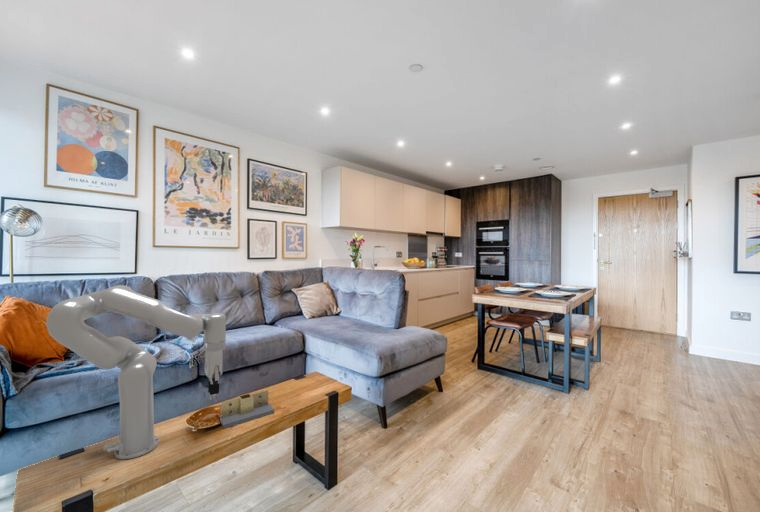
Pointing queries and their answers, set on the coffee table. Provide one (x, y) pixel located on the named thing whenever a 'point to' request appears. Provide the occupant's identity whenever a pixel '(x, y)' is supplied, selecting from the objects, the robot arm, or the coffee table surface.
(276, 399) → the coffee table surface
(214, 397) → the hinge pin
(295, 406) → the coffee table surface
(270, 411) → the base plate
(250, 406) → the hinge
